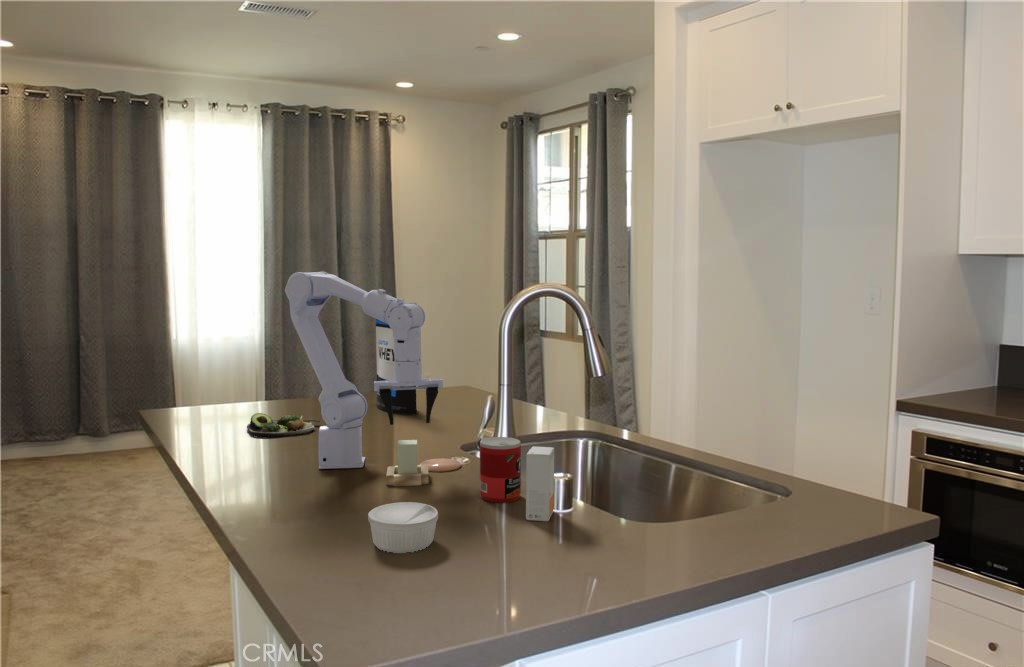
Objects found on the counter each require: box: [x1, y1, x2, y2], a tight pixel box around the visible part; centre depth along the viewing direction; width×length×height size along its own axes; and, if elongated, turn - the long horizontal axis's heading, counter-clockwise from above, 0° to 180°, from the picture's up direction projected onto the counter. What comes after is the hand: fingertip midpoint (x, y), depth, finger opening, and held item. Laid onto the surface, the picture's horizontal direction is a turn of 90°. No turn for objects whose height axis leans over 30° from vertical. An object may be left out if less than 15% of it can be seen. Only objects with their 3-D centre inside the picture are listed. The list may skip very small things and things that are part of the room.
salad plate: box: [246, 412, 321, 438], centre depth 213 cm, size 19×18×5 cm
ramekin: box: [367, 501, 439, 554], centre depth 128 cm, size 11×11×5 cm
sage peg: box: [396, 439, 418, 474], centre depth 164 cm, size 4×4×8 cm
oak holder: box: [385, 464, 429, 487], centre depth 165 cm, size 8×8×2 cm
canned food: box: [479, 436, 522, 504], centre depth 152 cm, size 8×8×11 cm
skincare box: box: [525, 446, 555, 522], centre depth 141 cm, size 6×4×12 cm
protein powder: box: [375, 318, 418, 416], centre depth 241 cm, size 10×24×30 cm, turn 38°
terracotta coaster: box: [419, 458, 462, 473], centre depth 175 cm, size 9×9×1 cm
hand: (409, 423), depth 170 cm, fingers open, 7 cm apart
